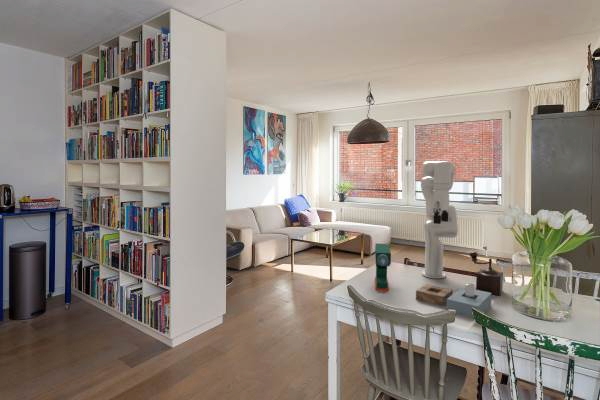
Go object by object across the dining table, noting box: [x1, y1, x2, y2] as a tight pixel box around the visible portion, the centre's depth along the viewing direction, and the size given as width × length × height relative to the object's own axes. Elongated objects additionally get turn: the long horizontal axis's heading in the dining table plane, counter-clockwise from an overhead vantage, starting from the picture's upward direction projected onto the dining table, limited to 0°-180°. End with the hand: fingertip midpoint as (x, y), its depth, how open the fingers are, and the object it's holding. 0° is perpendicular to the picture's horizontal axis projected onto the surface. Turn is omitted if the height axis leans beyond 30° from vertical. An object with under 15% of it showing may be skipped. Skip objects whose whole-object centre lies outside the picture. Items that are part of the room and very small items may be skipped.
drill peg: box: [464, 282, 476, 299], centre depth 147 cm, size 4×4×10 cm
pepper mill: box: [469, 251, 504, 297], centre depth 170 cm, size 16×11×18 cm
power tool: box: [374, 242, 392, 292], centre depth 173 cm, size 32×7×20 cm, turn 168°
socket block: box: [415, 283, 454, 307], centre depth 157 cm, size 12×12×5 cm
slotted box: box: [446, 286, 492, 318], centre depth 147 cm, size 20×12×6 cm, turn 138°
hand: (440, 222), depth 167 cm, fingers open, 9 cm apart
